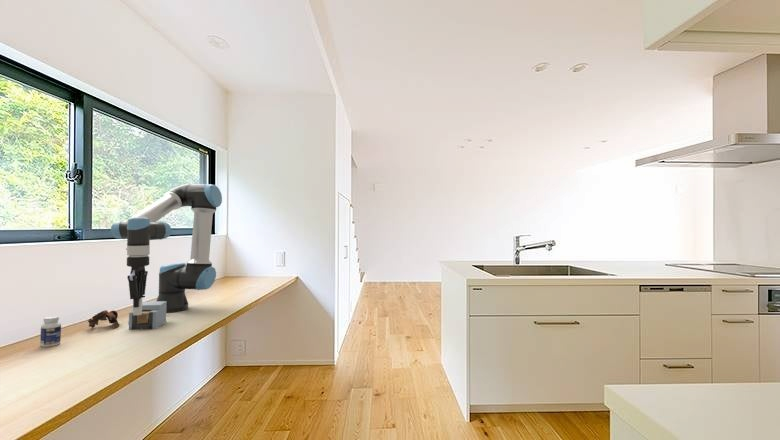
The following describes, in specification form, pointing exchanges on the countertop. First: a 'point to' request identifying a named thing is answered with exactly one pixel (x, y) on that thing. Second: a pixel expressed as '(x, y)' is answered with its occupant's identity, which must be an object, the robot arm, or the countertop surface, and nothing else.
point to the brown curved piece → (104, 318)
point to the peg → (143, 317)
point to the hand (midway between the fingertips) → (137, 314)
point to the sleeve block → (150, 316)
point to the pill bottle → (50, 332)
